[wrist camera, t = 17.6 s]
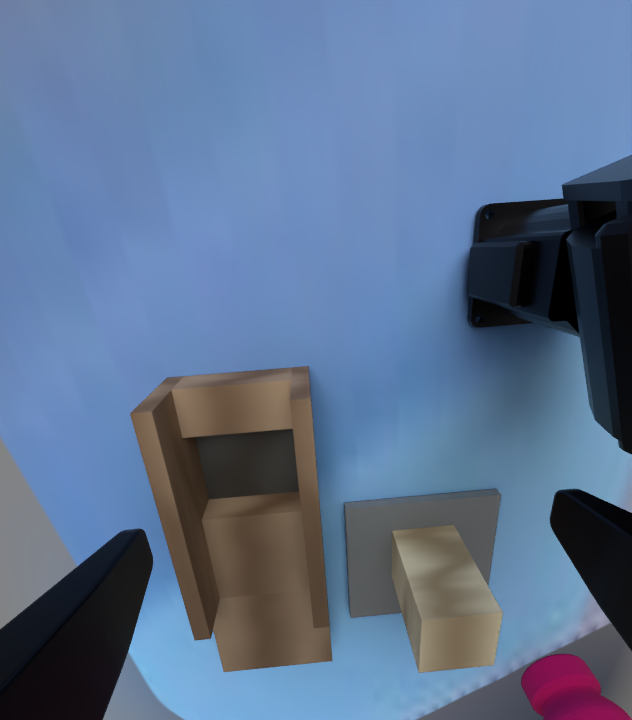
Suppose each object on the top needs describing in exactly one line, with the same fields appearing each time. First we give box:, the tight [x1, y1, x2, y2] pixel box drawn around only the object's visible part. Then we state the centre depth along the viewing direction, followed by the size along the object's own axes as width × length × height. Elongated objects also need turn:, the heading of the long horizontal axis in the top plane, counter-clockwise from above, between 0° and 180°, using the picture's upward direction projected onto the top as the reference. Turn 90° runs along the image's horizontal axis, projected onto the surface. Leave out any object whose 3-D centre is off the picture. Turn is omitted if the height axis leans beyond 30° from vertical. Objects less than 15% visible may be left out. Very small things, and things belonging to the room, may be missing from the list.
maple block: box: [392, 525, 503, 673], centre depth 21 cm, size 4×4×6 cm
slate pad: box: [344, 489, 501, 618], centre depth 25 cm, size 11×11×1 cm
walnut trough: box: [130, 366, 332, 672], centre depth 21 cm, size 8×24×4 cm, turn 4°
